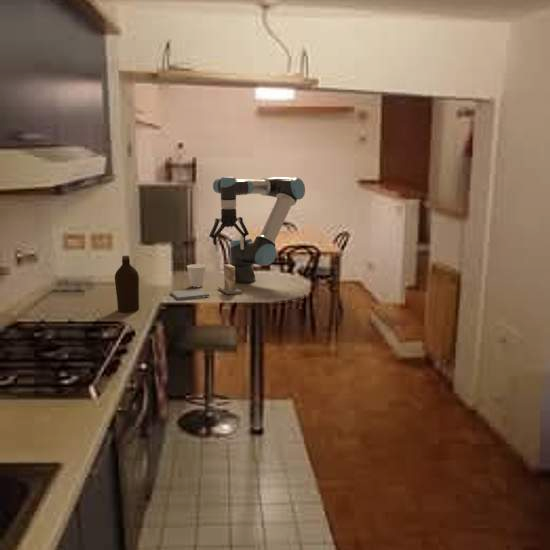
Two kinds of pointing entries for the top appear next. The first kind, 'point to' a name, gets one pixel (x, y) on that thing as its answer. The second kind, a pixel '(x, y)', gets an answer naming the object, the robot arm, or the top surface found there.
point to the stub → (229, 280)
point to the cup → (196, 274)
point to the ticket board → (189, 294)
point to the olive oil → (127, 287)
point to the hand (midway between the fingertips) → (229, 250)
